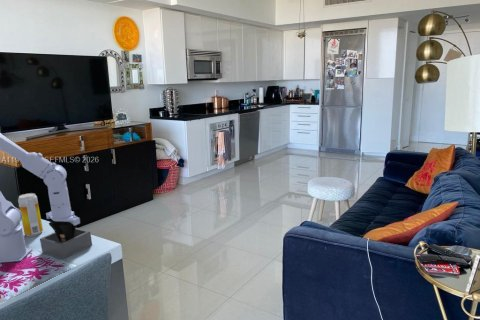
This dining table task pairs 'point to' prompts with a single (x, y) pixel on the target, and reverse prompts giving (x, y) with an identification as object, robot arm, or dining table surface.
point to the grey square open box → (66, 244)
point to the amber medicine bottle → (30, 214)
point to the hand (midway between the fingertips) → (66, 241)
